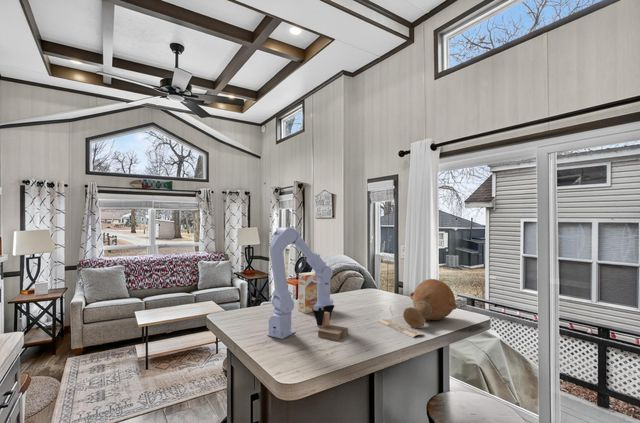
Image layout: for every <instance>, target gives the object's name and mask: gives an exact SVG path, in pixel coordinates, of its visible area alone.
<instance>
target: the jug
mask: <svg viewBox="0 0 640 423" xmlns="http://www.w3.org/2000/svg"><path fill="white" fill-rule="evenodd" d="M409 298H410V299H411V301H412V304H413V307H407V308H405V309H404V311H403V313H402V317H403V319H404V321H405V323H406V324H407V325H408V326H410V327H411V328H416V329H420V328H423V327H424V325H425V323H426V320H428V321H438V320H439V321H440V320H441V319H444V318H446V317H447V316H449V315H451V313H453V311H454V310H457V307H458V306H457V304H456V297H455V294H454V292H453V289H451V287H450V286H449V285H448V284H446V283H445V282H443V281H441V280H439V279H434V278H428V279H426V280H423V281H422V282H420V283H419V284H417V287H416V288H415V290H414V291H413V292H411V293H410V294H409Z"/></svg>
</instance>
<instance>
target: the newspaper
mask: <svg viewBox="0 0 640 423" xmlns="http://www.w3.org/2000/svg"><path fill="white" fill-rule="evenodd" d="M377 322H379V323H381V324H382V325H384V326H387V327H388V328H390V329H393V330H395V331H397V332H399V333H401V334H403V335H406V336H407V337H410V338H412V339H414V337H416V336H422V337H425V334H424V333H421V332H419V331H417V330H414V329H412V328H410V327H408V326H405V325H403V324H401V323H399V322H396V321H393V320H392V319H389V318H381V319H379V320H377Z"/></svg>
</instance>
